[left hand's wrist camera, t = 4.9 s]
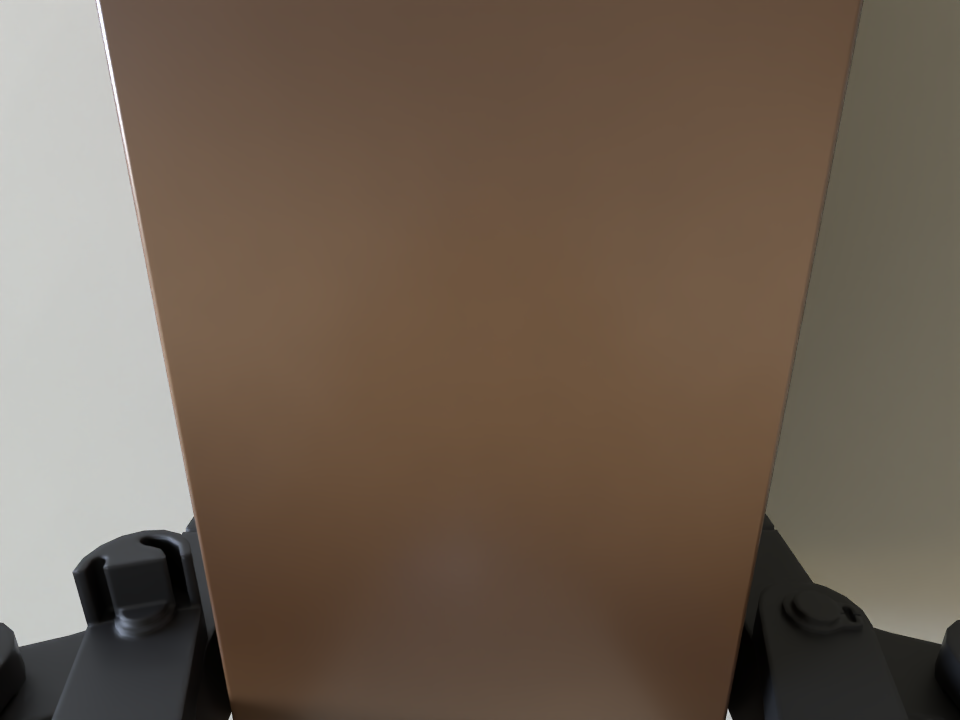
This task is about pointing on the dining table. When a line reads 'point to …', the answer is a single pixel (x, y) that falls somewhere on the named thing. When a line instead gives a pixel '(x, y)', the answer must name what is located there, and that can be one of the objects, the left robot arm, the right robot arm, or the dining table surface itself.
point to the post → (479, 333)
